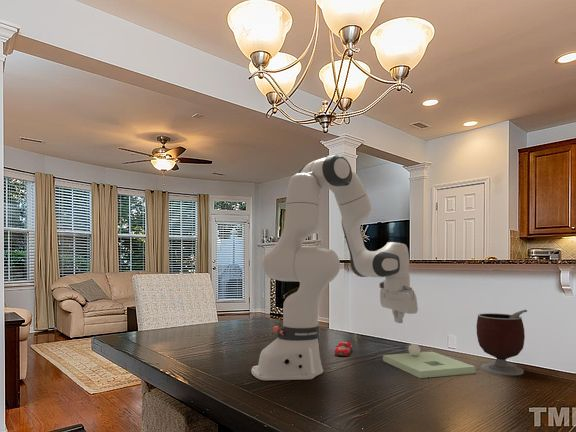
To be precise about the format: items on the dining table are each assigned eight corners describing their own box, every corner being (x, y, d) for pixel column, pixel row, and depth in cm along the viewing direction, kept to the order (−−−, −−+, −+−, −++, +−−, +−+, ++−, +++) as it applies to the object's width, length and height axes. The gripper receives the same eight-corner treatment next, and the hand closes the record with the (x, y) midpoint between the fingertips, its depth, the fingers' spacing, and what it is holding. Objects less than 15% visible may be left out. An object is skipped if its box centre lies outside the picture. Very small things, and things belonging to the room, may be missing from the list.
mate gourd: (469, 368, 137) (467, 306, 139) (491, 362, 145) (488, 303, 147) (519, 380, 125) (516, 311, 127) (539, 372, 133) (536, 307, 135)
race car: (348, 358, 152) (347, 347, 152) (333, 357, 154) (333, 346, 154) (354, 350, 164) (354, 340, 165) (340, 349, 166) (340, 339, 166)
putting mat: (420, 378, 126) (419, 371, 126) (383, 360, 147) (382, 355, 147) (475, 373, 132) (475, 366, 132) (432, 357, 153) (432, 351, 153)
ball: (412, 357, 144) (412, 345, 144) (406, 354, 148) (406, 343, 148) (422, 356, 145) (422, 344, 145) (416, 354, 149) (415, 342, 149)
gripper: (421, 287, 149) (422, 327, 148) (390, 282, 169) (391, 317, 168) (405, 287, 147) (406, 328, 146) (376, 283, 167) (377, 318, 166)
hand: (398, 322), depth 157 cm, fingers closed
